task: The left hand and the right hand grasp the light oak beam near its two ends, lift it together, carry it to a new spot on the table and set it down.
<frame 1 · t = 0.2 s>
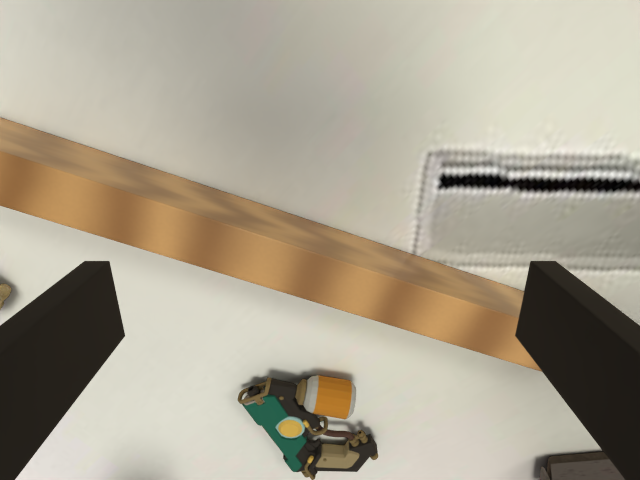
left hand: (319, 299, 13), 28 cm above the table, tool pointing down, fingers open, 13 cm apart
spray gun: (311, 416, 51), on the table
beam: (314, 243, 42), on the table
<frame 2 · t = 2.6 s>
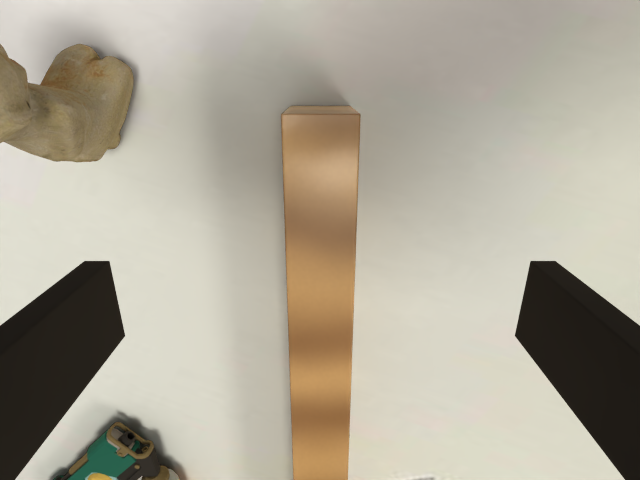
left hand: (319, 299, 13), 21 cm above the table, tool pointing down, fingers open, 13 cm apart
sculpture: (105, 102, 30), on the table
spray gun: (119, 478, 45), on the table
beam: (320, 428, 42), on the table, touching right hand
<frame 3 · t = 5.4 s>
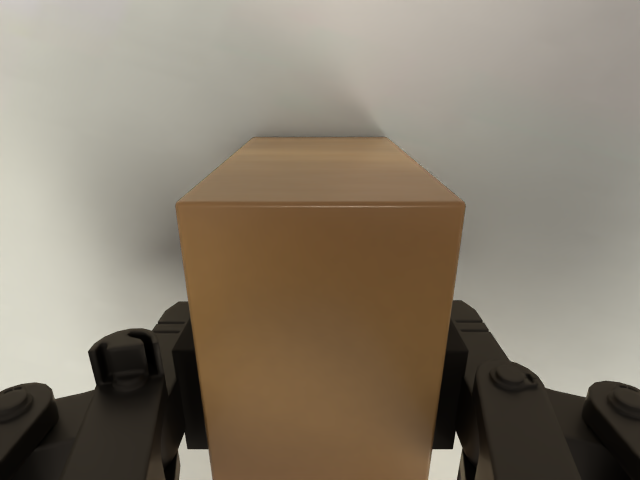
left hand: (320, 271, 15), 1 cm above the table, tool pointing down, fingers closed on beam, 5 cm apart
when the left hand's fingers open (2 cm above the table, at t = 12.4 s): beam drops 1 cm, on the table.
when the right hand's fingers open (4 cm above the table, at t = 12.5 s): beam stays where it is, on the table.
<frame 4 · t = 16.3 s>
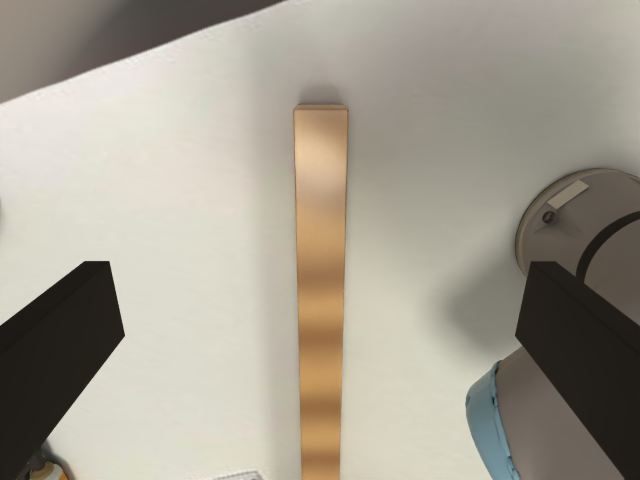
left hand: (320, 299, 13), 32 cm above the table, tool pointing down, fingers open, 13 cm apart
spray gun: (21, 471, 60), on the table
beam: (320, 363, 52), on the table
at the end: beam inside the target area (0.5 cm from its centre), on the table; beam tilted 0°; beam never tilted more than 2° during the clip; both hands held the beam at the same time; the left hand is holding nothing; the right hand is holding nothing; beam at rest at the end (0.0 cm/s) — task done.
